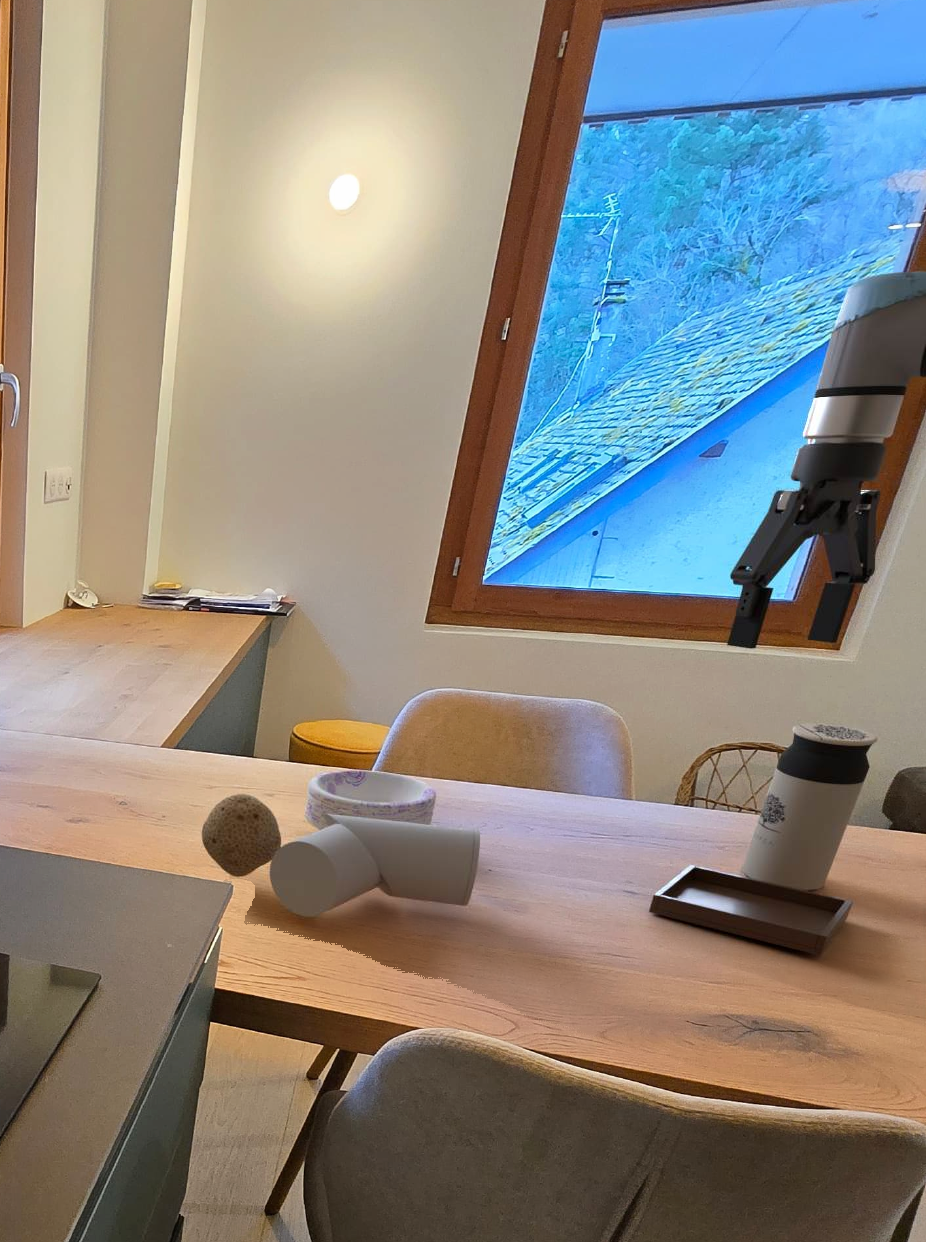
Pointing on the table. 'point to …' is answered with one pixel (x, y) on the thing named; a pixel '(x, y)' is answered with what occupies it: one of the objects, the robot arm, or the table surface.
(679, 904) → the tray
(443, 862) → the l-shaped cylinder
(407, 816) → the paper bowls
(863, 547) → the robot arm
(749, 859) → the travel mug
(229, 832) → the natural sponge
